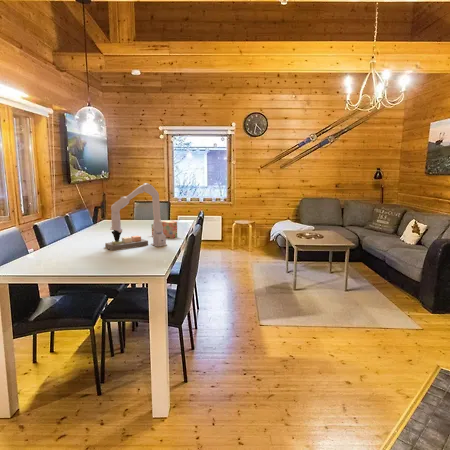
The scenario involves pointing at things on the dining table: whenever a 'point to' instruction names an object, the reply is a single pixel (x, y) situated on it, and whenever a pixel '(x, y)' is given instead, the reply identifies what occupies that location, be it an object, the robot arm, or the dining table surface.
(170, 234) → the stack of blocks
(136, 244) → the board
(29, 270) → the dining table surface
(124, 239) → the cream key
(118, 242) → the green key
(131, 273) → the dining table surface
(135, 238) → the terracotta key
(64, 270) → the dining table surface
